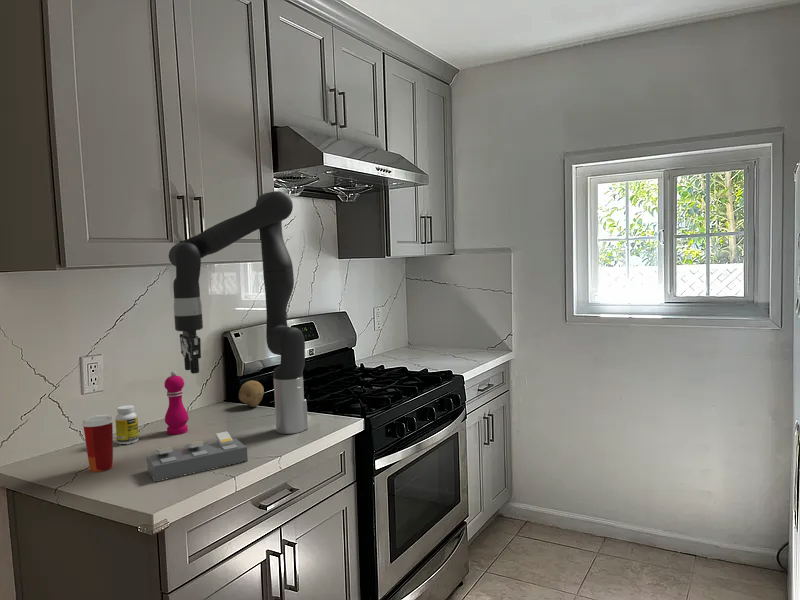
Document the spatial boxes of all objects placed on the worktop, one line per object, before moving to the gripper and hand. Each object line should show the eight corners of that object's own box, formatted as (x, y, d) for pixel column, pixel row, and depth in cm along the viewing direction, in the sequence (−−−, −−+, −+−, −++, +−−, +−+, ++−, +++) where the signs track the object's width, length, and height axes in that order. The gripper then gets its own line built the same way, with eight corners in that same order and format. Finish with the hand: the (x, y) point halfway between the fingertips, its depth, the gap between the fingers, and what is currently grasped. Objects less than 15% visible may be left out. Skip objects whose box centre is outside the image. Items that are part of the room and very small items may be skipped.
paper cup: (121, 462, 170) (118, 413, 168) (109, 472, 162) (105, 421, 161) (93, 464, 169) (89, 414, 168) (79, 474, 162) (75, 422, 161)
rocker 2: (227, 435, 173) (227, 431, 173) (232, 444, 169) (233, 440, 169) (215, 437, 172) (215, 433, 171) (221, 446, 168) (221, 442, 167)
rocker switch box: (236, 451, 175) (235, 437, 175) (247, 461, 167) (246, 445, 167) (147, 470, 163) (146, 454, 162) (155, 481, 154) (154, 465, 154)
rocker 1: (168, 451, 165) (168, 446, 165) (172, 451, 160) (172, 446, 161) (156, 454, 163) (155, 449, 163) (160, 454, 159) (159, 449, 159)
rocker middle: (199, 445, 169) (198, 441, 169) (203, 445, 165) (203, 440, 165) (187, 448, 167) (186, 443, 167) (191, 447, 163) (191, 443, 163)
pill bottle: (130, 445, 185) (128, 409, 184) (112, 444, 186) (109, 409, 185) (143, 439, 191) (140, 404, 190) (125, 438, 192) (123, 404, 191)
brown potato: (247, 411, 220) (246, 384, 219) (234, 407, 226) (233, 381, 225) (269, 406, 226) (267, 379, 226) (255, 402, 233) (254, 377, 232)
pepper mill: (164, 436, 193) (160, 374, 191) (166, 430, 200) (162, 370, 198) (188, 433, 195) (184, 372, 193) (190, 427, 202) (186, 368, 200)
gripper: (208, 314, 170) (212, 373, 171) (195, 310, 182) (198, 366, 183) (180, 316, 166) (184, 377, 167) (168, 312, 178) (172, 369, 179)
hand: (191, 371), depth 175 cm, fingers open, 6 cm apart
